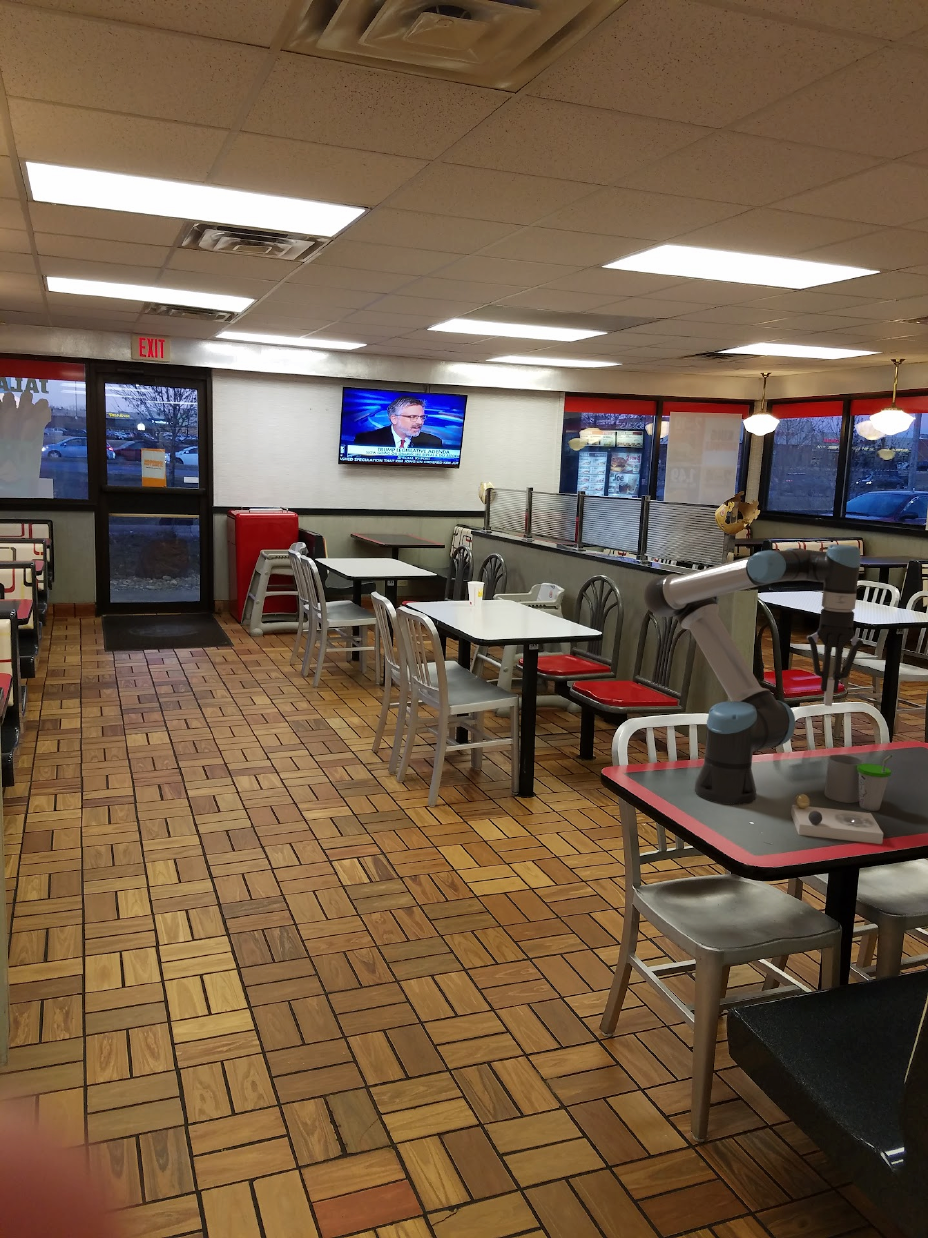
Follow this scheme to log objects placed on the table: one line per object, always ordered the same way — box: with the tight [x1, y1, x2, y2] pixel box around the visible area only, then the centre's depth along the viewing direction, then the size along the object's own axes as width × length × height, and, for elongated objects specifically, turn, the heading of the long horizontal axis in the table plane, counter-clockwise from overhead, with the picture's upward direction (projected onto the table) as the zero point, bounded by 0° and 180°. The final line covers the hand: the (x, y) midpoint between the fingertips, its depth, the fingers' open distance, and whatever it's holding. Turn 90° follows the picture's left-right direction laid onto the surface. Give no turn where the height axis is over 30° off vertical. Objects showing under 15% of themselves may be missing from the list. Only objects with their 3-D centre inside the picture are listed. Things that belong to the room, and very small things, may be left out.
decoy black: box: [808, 811, 822, 824], centre depth 214 cm, size 3×3×3 cm
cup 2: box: [857, 754, 893, 812], centre depth 232 cm, size 8×8×15 cm
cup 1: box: [824, 754, 865, 804], centre depth 240 cm, size 8×8×10 cm
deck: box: [790, 804, 884, 845], centre depth 218 cm, size 18×13×2 cm
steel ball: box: [849, 818, 863, 824], centre depth 217 cm, size 3×3×3 cm
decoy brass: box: [794, 793, 811, 809], centre depth 224 cm, size 3×3×3 cm
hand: (827, 704), depth 228 cm, fingers closed
